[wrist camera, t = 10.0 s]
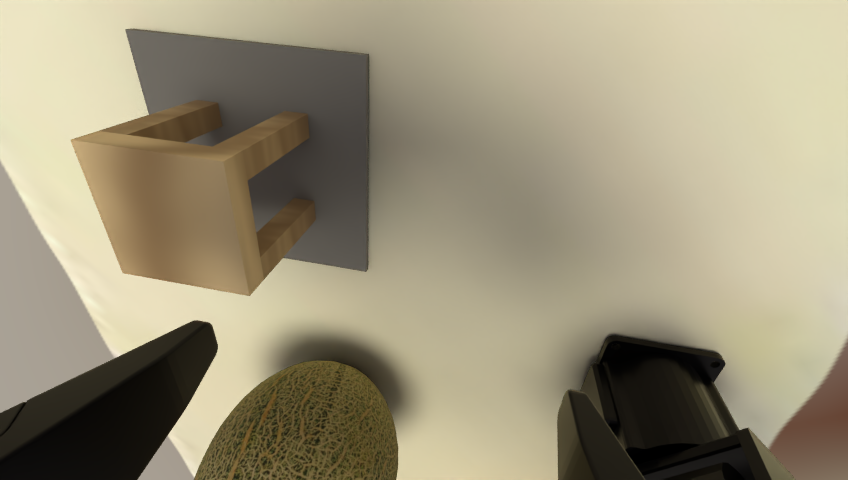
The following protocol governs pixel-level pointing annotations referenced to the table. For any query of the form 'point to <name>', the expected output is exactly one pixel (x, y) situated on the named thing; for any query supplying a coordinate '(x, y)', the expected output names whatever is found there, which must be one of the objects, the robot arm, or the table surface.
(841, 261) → the table surface
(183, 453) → the table surface
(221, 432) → the fruit
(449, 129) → the table surface
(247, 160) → the stool
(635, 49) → the table surface
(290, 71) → the mat
